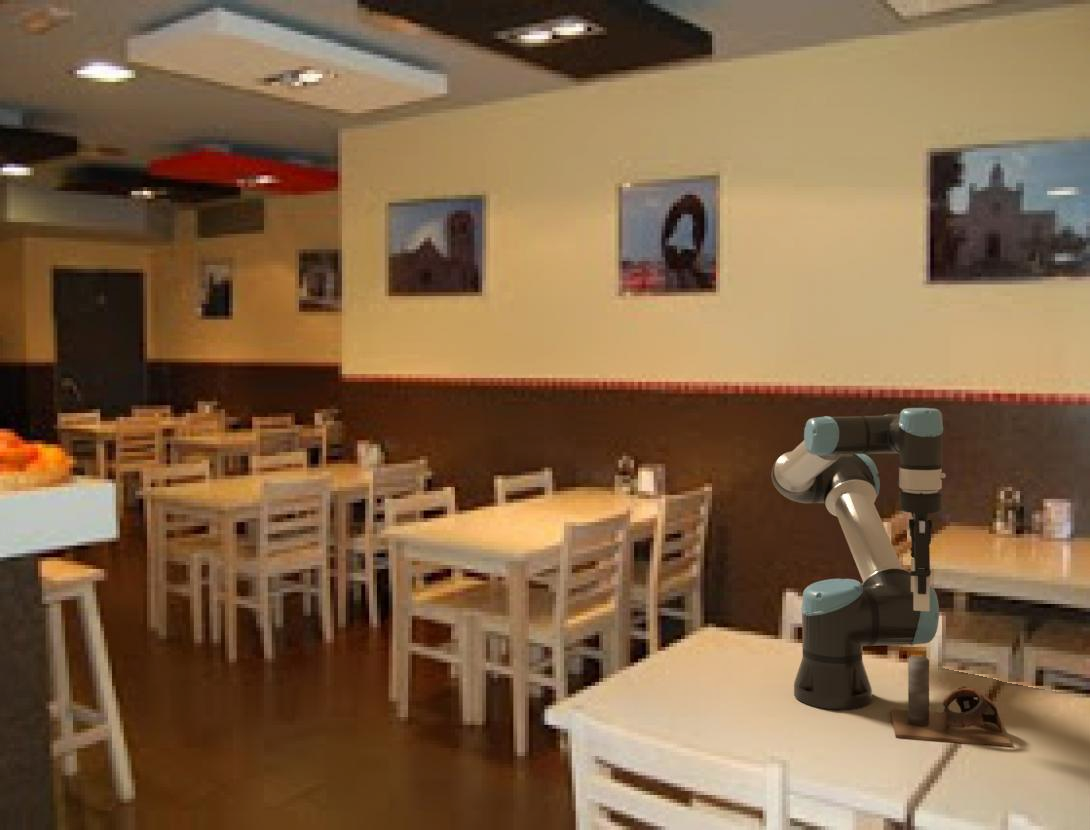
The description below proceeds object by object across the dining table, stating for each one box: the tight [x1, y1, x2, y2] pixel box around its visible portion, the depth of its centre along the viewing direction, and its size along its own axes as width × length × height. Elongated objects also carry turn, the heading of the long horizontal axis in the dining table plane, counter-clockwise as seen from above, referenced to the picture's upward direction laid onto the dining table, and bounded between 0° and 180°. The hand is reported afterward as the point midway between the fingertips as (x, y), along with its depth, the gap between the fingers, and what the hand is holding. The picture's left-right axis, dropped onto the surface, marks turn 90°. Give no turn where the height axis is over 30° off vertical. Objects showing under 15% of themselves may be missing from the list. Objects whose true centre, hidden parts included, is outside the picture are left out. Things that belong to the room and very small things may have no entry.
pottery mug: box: [942, 685, 1003, 732], centre depth 177 cm, size 12×10×8 cm
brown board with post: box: [890, 656, 1012, 747], centre depth 177 cm, size 19×13×13 cm
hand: (919, 601), depth 184 cm, fingers open, 13 cm apart
